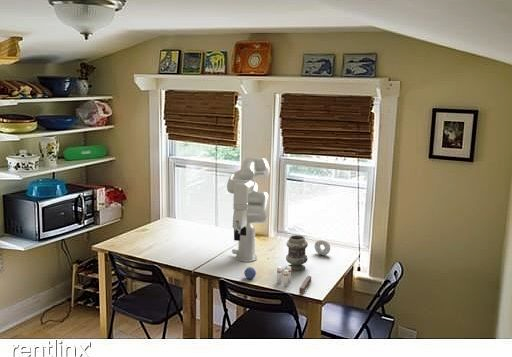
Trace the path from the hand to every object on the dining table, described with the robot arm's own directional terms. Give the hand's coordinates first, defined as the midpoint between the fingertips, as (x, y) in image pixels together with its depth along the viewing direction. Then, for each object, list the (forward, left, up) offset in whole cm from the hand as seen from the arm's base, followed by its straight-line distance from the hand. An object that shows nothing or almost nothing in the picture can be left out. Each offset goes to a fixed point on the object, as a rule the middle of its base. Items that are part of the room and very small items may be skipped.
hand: (240, 237), depth 260 cm
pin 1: (+27, -5, -21) cm, 34 cm away
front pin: (+23, -2, -21) cm, 31 cm away
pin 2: (+27, 0, -21) cm, 34 cm away
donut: (+35, +46, -21) cm, 61 cm away
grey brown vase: (+26, +21, -21) cm, 39 cm away
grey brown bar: (+37, -2, -21) cm, 42 cm away
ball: (+7, -2, -18) cm, 19 cm away
